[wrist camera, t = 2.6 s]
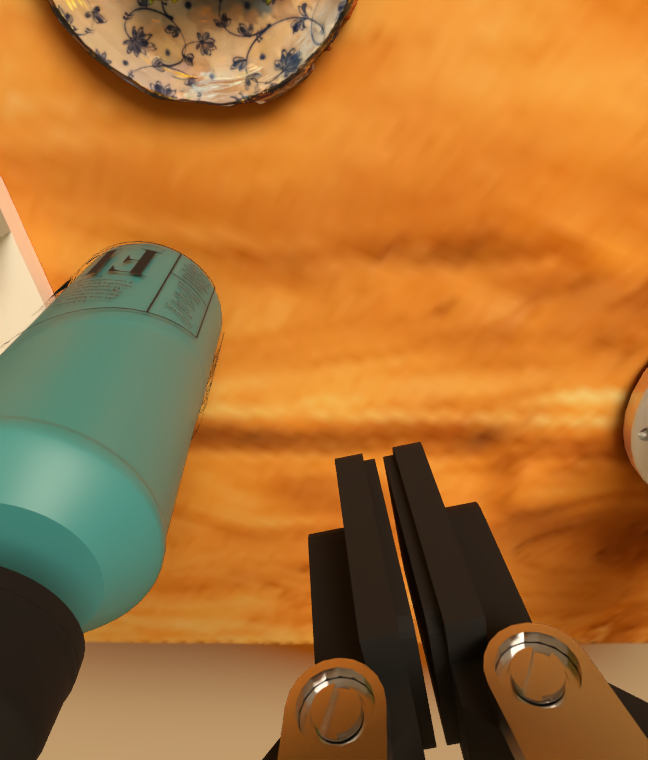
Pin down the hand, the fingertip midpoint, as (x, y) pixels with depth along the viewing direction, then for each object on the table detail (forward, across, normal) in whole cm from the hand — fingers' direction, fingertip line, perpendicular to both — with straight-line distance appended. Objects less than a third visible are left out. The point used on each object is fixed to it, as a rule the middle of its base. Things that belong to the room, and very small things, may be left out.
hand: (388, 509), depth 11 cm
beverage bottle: (+17, +8, 0) cm, 19 cm away
